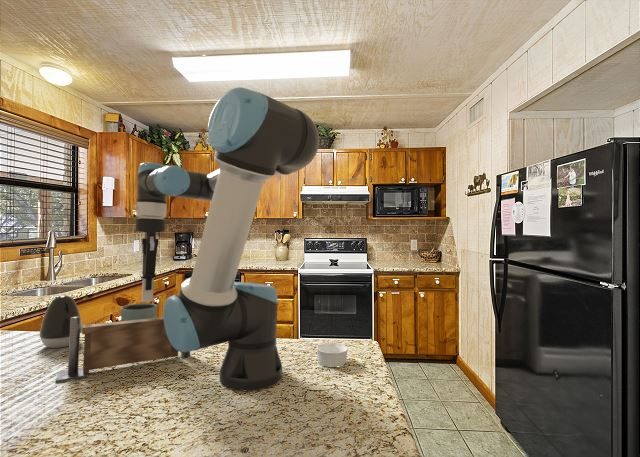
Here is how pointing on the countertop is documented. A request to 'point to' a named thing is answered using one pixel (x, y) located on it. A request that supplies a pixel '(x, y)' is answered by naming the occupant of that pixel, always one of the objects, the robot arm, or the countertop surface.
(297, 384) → the countertop surface
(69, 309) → the dark grey egg shape
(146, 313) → the teal cylindrical container
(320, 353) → the ramekin
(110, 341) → the gate
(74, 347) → the hinge post
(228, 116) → the robot arm
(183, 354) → the post
